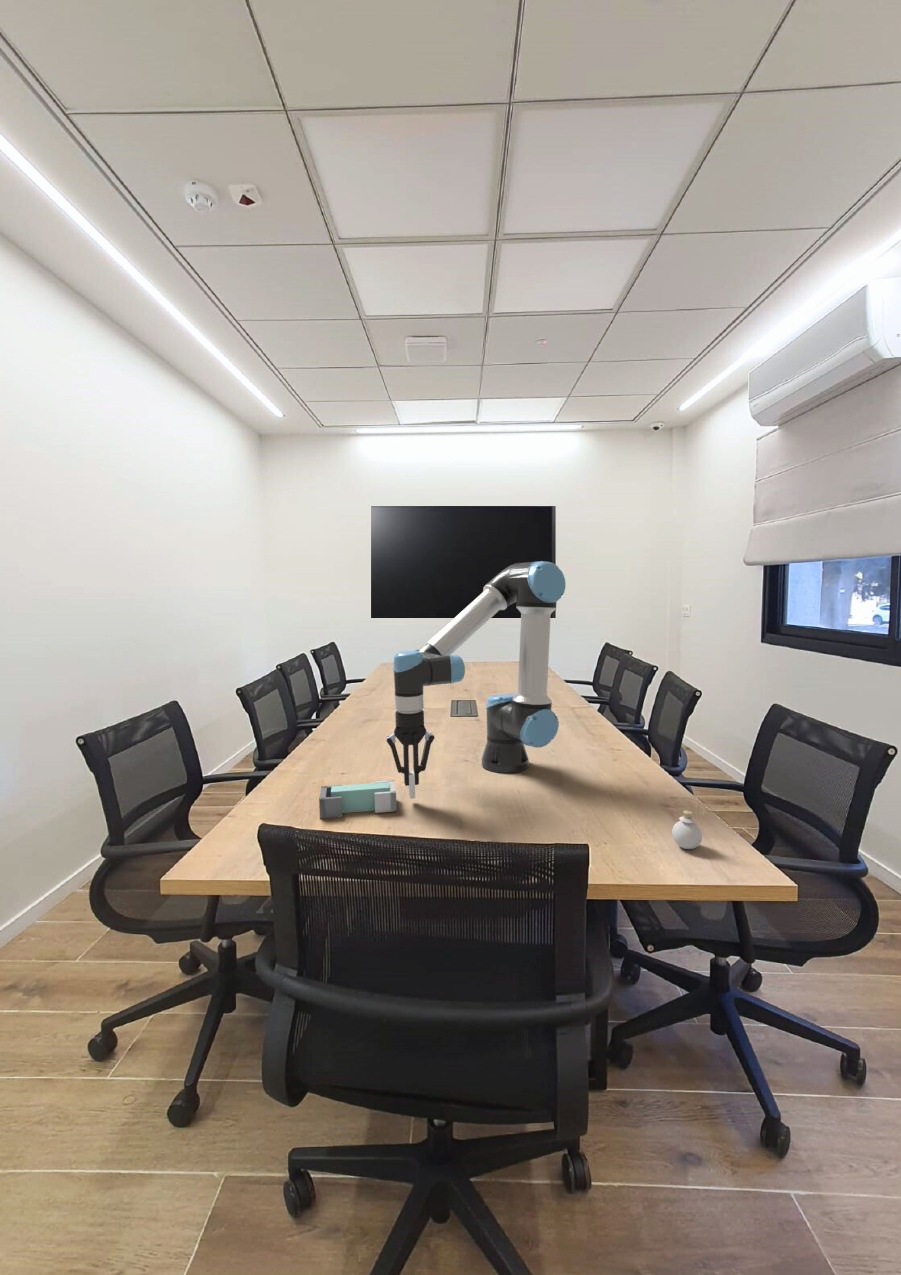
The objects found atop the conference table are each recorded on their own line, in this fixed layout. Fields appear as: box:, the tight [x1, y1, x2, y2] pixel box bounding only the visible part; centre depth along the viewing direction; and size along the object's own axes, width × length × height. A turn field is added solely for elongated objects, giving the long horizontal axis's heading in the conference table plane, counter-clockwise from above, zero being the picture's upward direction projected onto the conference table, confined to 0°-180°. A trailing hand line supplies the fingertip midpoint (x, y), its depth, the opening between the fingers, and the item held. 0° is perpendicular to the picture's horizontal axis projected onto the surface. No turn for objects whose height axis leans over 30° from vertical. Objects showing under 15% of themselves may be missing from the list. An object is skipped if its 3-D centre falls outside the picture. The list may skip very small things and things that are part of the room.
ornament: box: [671, 804, 708, 850], centre depth 119 cm, size 6×7×10 cm
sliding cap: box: [373, 779, 398, 814], centre depth 143 cm, size 6×9×5 cm, turn 10°
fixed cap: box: [318, 784, 343, 819], centre depth 141 cm, size 6×9×5 cm, turn 10°
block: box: [331, 782, 390, 814], centre depth 142 cm, size 15×4×6 cm, turn 100°
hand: (412, 796), depth 145 cm, fingers closed
